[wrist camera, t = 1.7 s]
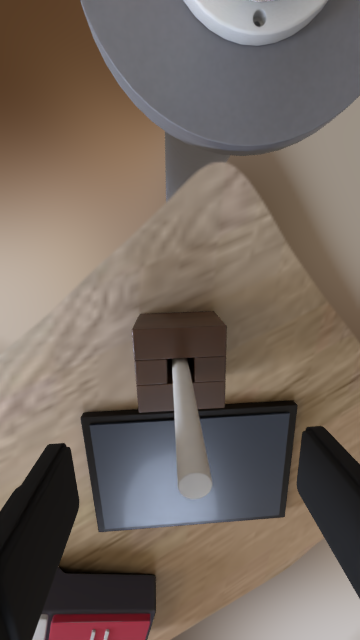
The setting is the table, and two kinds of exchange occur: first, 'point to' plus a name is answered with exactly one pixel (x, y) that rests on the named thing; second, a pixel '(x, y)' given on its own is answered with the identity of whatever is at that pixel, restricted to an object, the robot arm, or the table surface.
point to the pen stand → (179, 342)
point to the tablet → (161, 465)
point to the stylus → (189, 436)
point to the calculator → (98, 607)
